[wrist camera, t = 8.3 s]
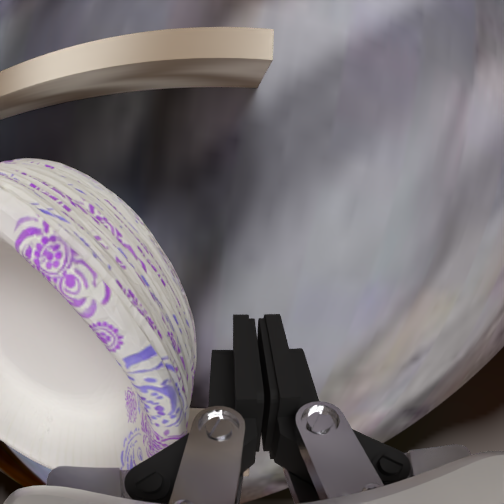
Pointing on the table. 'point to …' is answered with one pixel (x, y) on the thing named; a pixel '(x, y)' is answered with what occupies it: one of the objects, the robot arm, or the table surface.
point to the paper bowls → (87, 324)
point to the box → (139, 70)
